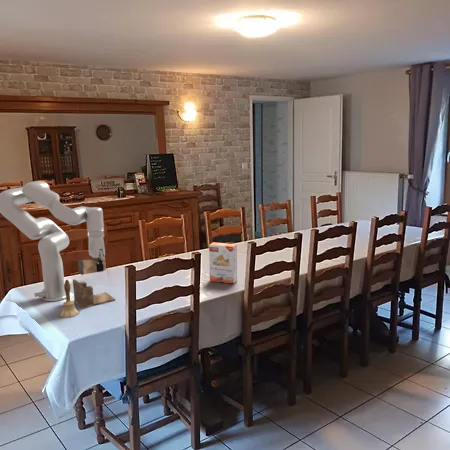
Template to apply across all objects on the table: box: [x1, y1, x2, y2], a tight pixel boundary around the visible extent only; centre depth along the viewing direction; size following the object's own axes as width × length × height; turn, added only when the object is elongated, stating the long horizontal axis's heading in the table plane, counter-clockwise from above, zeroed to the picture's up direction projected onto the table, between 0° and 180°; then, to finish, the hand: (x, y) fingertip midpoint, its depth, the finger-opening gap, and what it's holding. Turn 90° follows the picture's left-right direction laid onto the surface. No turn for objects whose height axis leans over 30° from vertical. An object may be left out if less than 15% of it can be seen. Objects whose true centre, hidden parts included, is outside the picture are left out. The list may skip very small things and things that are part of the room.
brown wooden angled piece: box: [72, 278, 116, 309], centre depth 219 cm, size 16×12×11 cm
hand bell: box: [59, 279, 80, 318], centre depth 203 cm, size 8×8×16 cm
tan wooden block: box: [77, 257, 107, 276], centre depth 217 cm, size 12×4×6 cm, turn 126°
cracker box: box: [208, 241, 238, 284], centre depth 244 cm, size 14×6×21 cm, turn 68°
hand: (98, 270), depth 219 cm, fingers closed on tan wooden block, 3 cm apart
